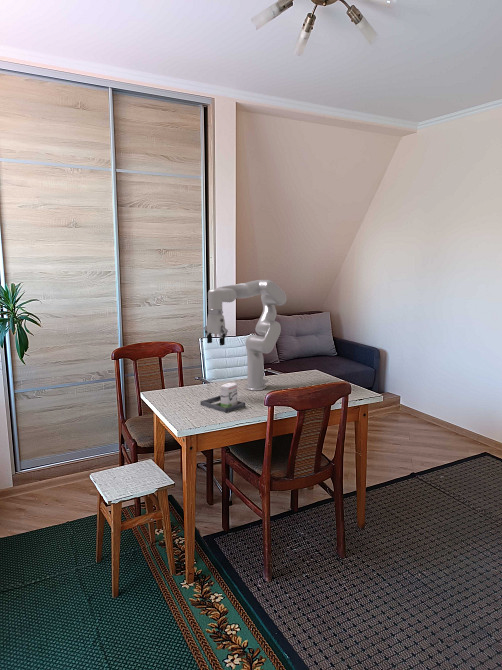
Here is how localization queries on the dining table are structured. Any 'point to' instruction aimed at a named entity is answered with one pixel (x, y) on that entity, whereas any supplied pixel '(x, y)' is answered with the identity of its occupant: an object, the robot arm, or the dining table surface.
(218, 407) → the rail frame
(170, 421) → the dining table surface
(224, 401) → the ink box
